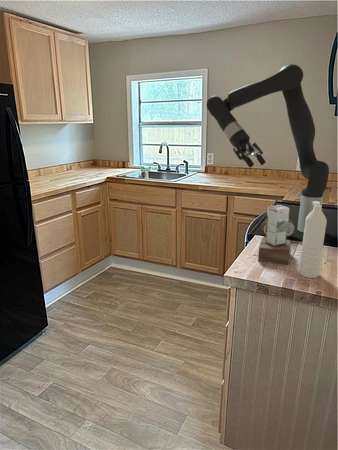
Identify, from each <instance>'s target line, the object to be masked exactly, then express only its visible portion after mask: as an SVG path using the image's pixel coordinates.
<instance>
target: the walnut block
mask: <svg viewBox="0 0 338 450" xmlns="http://www.w3.org/2000/svg"><path fill="white" fill-rule="evenodd" d="M290 253H291V240H290V239H286V244H281V245H277V246H274V245H272V244H269V243H267V242H265V237H261V240H260V243H259V246H258V256H257V257H258V258H257V262H260V261H262V263H268V262H271V263H270V264H276V263H277V265H283V264H285V265H284V266H286V265H287V266H289V264H290V263H289V262H290V255H291V254H290Z"/></svg>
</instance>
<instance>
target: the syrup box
mask: <svg viewBox="0 0 338 450" xmlns="http://www.w3.org/2000/svg"><path fill="white" fill-rule="evenodd" d="M289 217H290V208H289V207H288V206H285V205H280V204H276V205H270V206H267V211H266V220H267V221H266V234H264V235H265V237H264V238H265V242H267V243H269V244H272V245H274V246H277V245H281V244H286V240H287V238H288V237H287V228H288V219H290V218H289Z"/></svg>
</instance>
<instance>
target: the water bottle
mask: <svg viewBox="0 0 338 450" xmlns="http://www.w3.org/2000/svg"><path fill="white" fill-rule="evenodd" d="M312 205H314V207H313V210H312V211H311V212H310V213H309V215H308V216H307V217H306V219H305V228H304V232H303V238H302V244H301V245H302V246H301V254H300V262H299V268H298V269H299V270H298V272H299V273H298V274H299V275H301V276H302V277H304V278H308V279H309V278H310V279H316V278H318V277H319V276H320V271H321V269H320V268H321V263H322V255H323V248H324V241H325V235H326V228H327V223H328V221H327V220H328V219H327V217H326V216H325V214H324V212H323V208H322V207H323V205H322V206H321V205H320V202H318V201H313V203H312Z"/></svg>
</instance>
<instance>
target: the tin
mask: <svg viewBox="0 0 338 450" xmlns="http://www.w3.org/2000/svg"><path fill="white" fill-rule="evenodd" d="M266 221H267V219H265V220H264V221H263V222H262V223H261V225H260V226H261V227H260V230H261V231H262V233H263V235H265V234H266ZM296 230H297V227H296V224H295V222H294V221H293V220H292V219H290V218H288V228H287V238H289V237H291V236H293V235H294V234H295V232H296Z"/></svg>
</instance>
